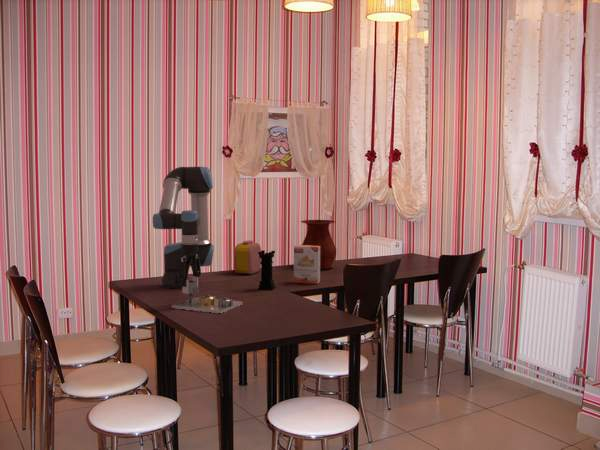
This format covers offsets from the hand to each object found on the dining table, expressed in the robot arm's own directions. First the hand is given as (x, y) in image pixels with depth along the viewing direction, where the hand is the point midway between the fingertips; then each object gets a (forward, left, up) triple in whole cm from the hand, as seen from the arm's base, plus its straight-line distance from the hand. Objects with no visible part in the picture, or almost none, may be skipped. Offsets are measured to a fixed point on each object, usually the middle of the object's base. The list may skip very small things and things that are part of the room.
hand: (190, 291), depth 307 cm
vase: (+15, +123, -7) cm, 124 cm away
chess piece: (+15, +50, -7) cm, 53 cm away
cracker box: (+28, +74, -7) cm, 80 cm away
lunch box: (-17, +89, -7) cm, 91 cm away
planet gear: (0, 0, 0) cm, 0 cm away
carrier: (+9, 0, -6) cm, 11 cm away
